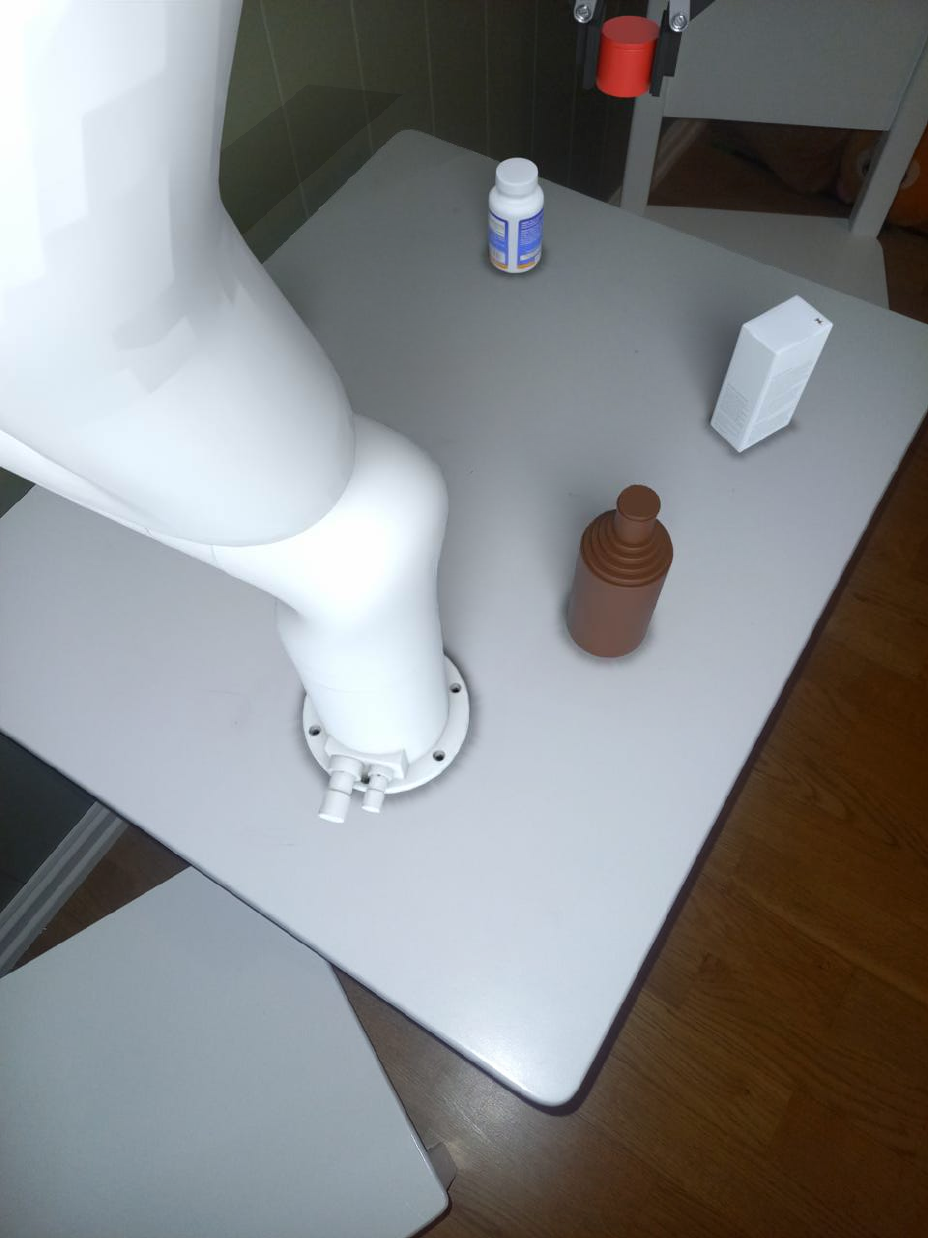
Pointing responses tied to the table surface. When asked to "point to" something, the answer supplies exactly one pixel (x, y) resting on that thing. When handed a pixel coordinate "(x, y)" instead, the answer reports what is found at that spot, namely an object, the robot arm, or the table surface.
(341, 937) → the table surface
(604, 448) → the table surface
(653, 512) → the sauce bottle
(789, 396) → the cosmetic box
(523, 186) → the pill bottle
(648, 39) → the cap
